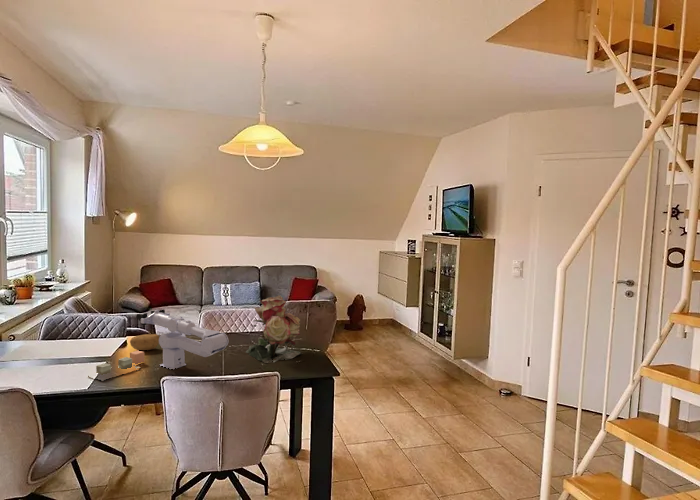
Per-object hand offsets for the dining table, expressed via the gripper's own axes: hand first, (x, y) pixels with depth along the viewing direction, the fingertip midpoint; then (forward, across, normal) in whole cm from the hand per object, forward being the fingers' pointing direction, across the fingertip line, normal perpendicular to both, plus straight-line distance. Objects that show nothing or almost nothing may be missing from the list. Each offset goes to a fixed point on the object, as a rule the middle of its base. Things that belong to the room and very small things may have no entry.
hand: (144, 314), depth 215 cm
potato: (+9, -8, +23) cm, 26 cm away
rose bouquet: (-50, -41, +19) cm, 67 cm away
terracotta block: (-6, +7, +21) cm, 23 cm away
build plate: (-9, +20, +21) cm, 30 cm away
